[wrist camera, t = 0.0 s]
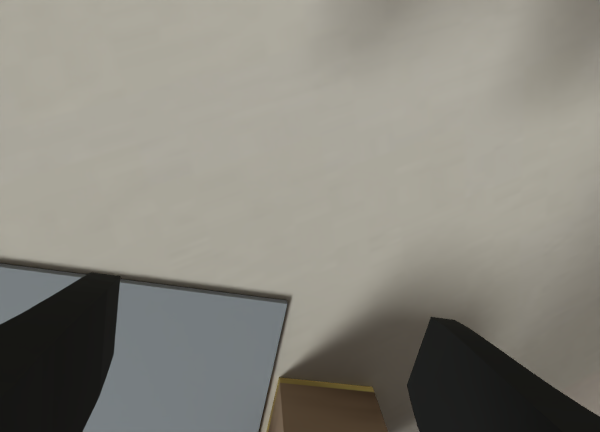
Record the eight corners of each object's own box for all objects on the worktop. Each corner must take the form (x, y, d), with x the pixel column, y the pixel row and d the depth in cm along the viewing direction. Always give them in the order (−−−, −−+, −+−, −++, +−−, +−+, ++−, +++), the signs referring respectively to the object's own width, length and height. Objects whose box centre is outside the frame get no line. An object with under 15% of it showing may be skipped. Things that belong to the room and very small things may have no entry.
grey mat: (239, 510, 27) (239, 515, 26) (-26, 496, 24) (-30, 501, 24) (286, 300, 22) (287, 303, 22) (-36, 258, 20) (-41, 261, 19)
